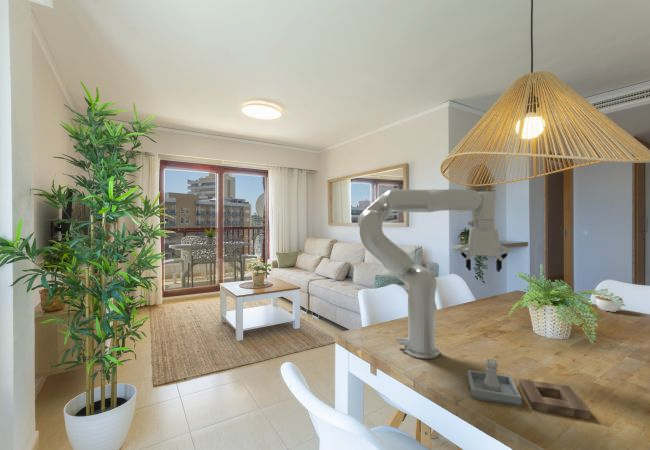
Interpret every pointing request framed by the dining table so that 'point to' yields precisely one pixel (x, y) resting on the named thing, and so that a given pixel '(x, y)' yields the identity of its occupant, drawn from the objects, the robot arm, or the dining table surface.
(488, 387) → the rook chess piece
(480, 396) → the tray
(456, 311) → the dining table surface
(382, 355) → the dining table surface
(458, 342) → the dining table surface
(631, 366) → the dining table surface
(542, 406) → the socket block
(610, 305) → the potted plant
